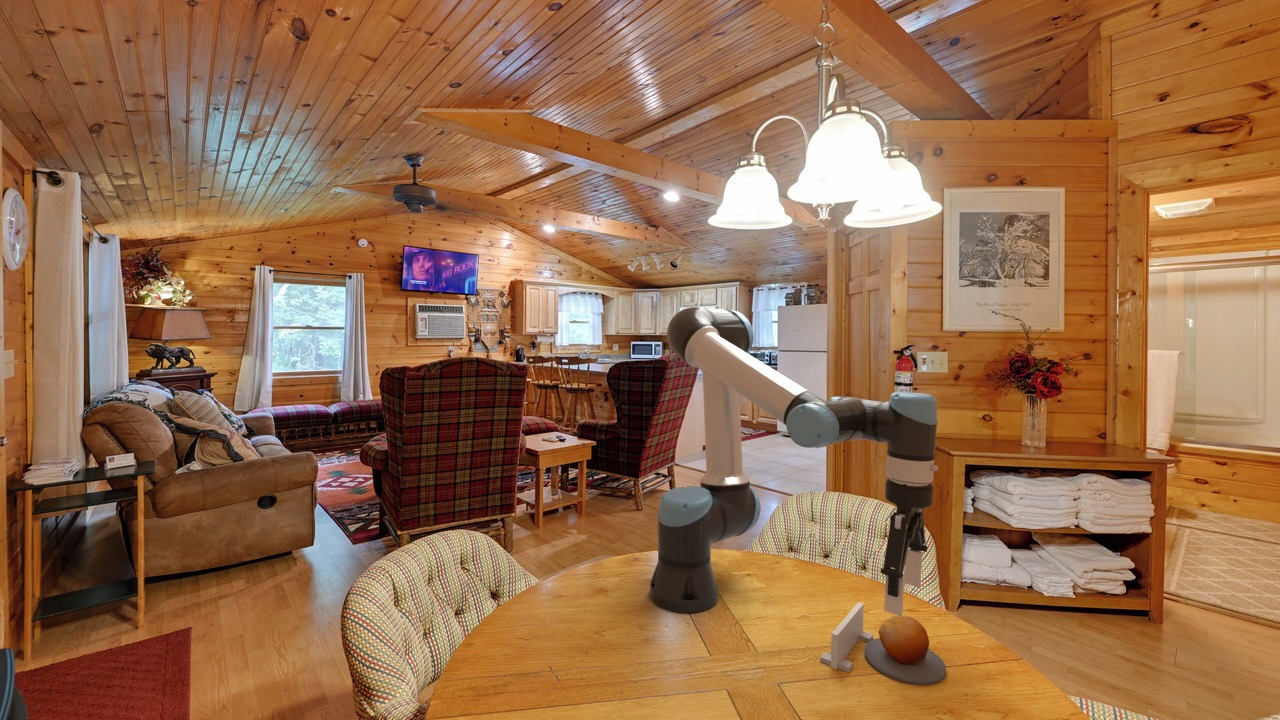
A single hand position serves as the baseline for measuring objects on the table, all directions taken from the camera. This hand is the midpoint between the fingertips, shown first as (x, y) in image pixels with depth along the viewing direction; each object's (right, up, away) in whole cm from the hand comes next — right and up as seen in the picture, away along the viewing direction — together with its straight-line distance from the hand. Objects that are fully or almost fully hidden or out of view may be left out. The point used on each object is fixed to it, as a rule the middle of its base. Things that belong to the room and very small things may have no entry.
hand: (903, 598), depth 96 cm
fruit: (0, -11, 0) cm, 11 cm away
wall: (-8, -11, +4) cm, 14 cm away
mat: (0, -11, 0) cm, 11 cm away
